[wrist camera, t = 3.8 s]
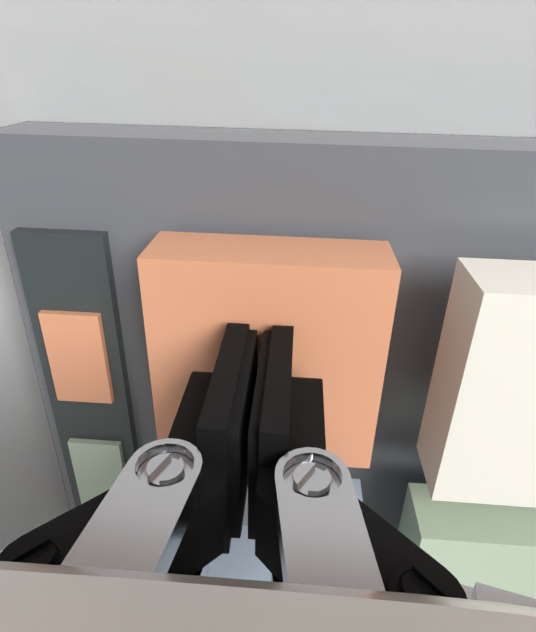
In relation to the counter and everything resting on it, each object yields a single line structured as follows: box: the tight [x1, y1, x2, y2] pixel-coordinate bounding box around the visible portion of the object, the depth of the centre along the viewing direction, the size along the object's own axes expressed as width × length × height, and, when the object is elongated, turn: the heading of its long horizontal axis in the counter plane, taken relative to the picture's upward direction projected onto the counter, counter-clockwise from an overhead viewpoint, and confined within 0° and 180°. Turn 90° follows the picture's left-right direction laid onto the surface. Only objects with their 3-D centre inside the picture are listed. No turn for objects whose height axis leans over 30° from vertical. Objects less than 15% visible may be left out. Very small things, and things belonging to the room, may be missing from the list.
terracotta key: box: [137, 231, 401, 468], centre depth 13 cm, size 6×6×2 cm
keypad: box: [0, 121, 536, 530], centre depth 17 cm, size 20×18×3 cm
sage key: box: [398, 483, 536, 599], centre depth 16 cm, size 6×6×2 cm
